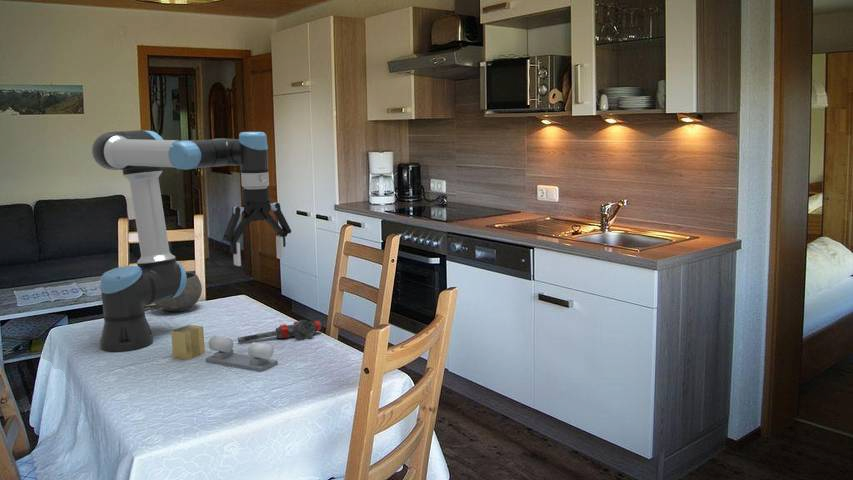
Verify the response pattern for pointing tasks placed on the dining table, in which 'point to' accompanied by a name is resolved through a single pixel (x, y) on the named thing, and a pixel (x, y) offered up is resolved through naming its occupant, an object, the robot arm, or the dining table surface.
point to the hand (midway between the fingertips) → (259, 262)
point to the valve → (289, 331)
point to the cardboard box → (188, 342)
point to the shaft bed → (255, 361)
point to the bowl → (184, 295)
